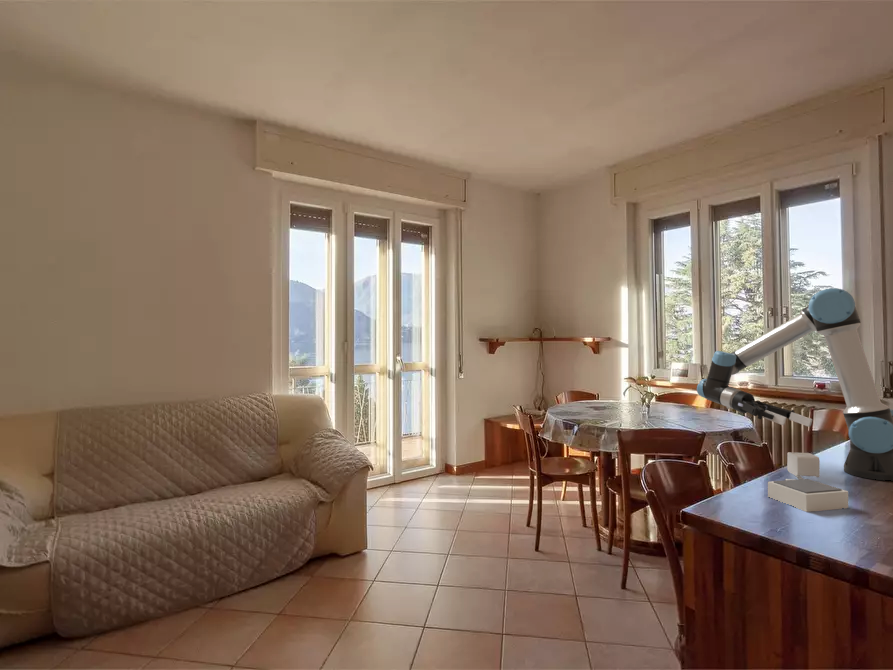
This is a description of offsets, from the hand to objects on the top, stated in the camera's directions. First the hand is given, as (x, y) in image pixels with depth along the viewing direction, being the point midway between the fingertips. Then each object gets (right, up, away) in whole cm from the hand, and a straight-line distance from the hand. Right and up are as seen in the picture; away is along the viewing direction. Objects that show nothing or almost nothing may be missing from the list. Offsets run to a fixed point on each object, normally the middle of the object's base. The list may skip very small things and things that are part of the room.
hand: (798, 422), depth 154 cm
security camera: (-2, -20, -4) cm, 20 cm away
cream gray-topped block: (-12, -19, -19) cm, 30 cm away
